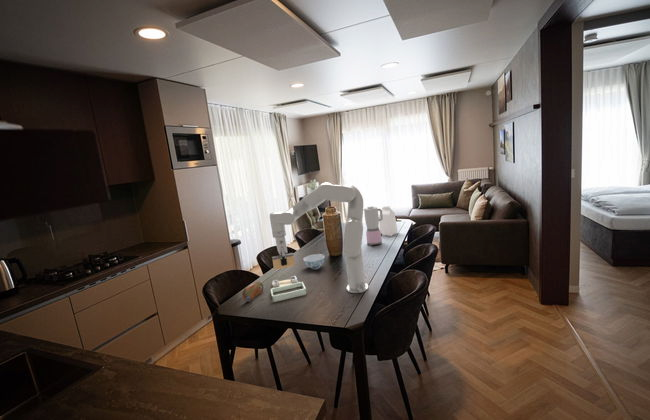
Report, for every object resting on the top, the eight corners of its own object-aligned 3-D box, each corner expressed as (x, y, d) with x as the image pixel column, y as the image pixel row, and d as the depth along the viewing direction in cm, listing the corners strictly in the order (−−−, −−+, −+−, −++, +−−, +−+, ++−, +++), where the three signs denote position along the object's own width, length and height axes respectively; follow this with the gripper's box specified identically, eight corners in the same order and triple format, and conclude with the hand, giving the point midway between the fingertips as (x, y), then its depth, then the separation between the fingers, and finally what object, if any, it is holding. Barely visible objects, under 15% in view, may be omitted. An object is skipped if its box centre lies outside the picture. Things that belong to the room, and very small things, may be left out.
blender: (370, 247, 248) (365, 208, 243) (365, 243, 260) (360, 206, 255) (388, 243, 252) (384, 205, 246) (382, 240, 263) (378, 204, 258)
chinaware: (323, 271, 209) (322, 260, 207) (302, 272, 212) (300, 261, 211) (327, 263, 223) (326, 253, 222) (307, 264, 226) (306, 254, 225)
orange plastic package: (246, 304, 173) (244, 290, 172) (242, 303, 175) (240, 289, 174) (264, 292, 186) (262, 279, 184) (261, 292, 187) (258, 279, 186)
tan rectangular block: (295, 265, 176) (293, 254, 175) (274, 270, 174) (272, 258, 173) (294, 264, 179) (292, 252, 178) (273, 268, 177) (271, 256, 175)
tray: (306, 294, 176) (306, 288, 175) (273, 302, 171) (272, 296, 171) (303, 286, 187) (302, 281, 186) (271, 294, 183) (270, 288, 182)
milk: (380, 235, 281) (377, 207, 276) (386, 231, 289) (383, 205, 285) (391, 235, 273) (389, 207, 269) (397, 232, 281) (395, 205, 277)
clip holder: (299, 285, 190) (298, 280, 189) (273, 291, 186) (272, 286, 185) (296, 278, 201) (295, 273, 201) (272, 284, 198) (271, 279, 197)
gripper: (287, 235, 166) (292, 267, 169) (283, 229, 182) (288, 258, 185) (273, 237, 165) (279, 270, 168) (271, 231, 180) (276, 261, 183)
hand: (283, 263), depth 176 cm, fingers closed on tan rectangular block, 3 cm apart
